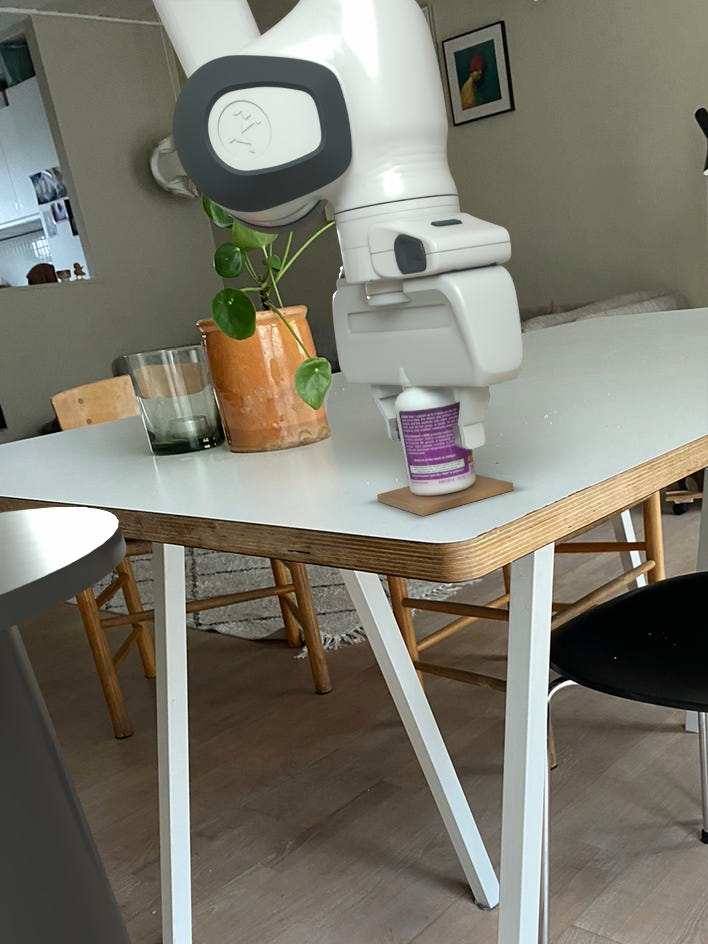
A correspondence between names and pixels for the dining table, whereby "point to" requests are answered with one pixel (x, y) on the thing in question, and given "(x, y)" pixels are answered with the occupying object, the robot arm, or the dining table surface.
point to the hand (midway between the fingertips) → (435, 443)
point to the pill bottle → (432, 440)
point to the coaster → (444, 496)
